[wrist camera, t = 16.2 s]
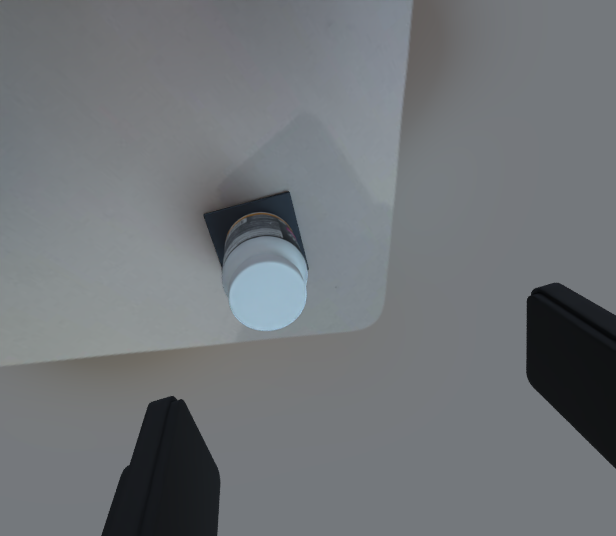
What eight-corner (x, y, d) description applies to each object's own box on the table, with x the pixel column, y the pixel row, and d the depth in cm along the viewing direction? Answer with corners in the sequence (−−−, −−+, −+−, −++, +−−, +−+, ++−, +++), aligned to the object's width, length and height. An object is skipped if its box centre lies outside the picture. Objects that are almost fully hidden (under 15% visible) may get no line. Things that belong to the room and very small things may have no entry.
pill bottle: (299, 266, 33) (323, 327, 24) (234, 281, 33) (232, 349, 24) (287, 203, 31) (308, 244, 22) (216, 217, 30) (207, 266, 21)
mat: (289, 191, 31) (289, 192, 31) (308, 268, 34) (308, 269, 34) (203, 213, 31) (203, 215, 30) (230, 289, 34) (230, 292, 33)
